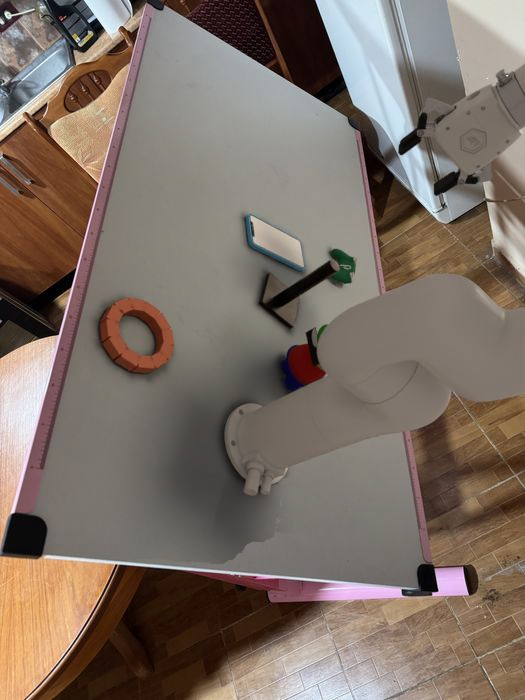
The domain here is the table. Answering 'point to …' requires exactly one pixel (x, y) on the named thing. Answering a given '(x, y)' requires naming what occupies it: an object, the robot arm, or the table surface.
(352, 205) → the table surface
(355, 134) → the table surface
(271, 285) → the post
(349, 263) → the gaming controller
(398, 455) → the table surface
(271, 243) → the smartphone
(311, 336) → the toy
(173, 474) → the table surface
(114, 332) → the ring
